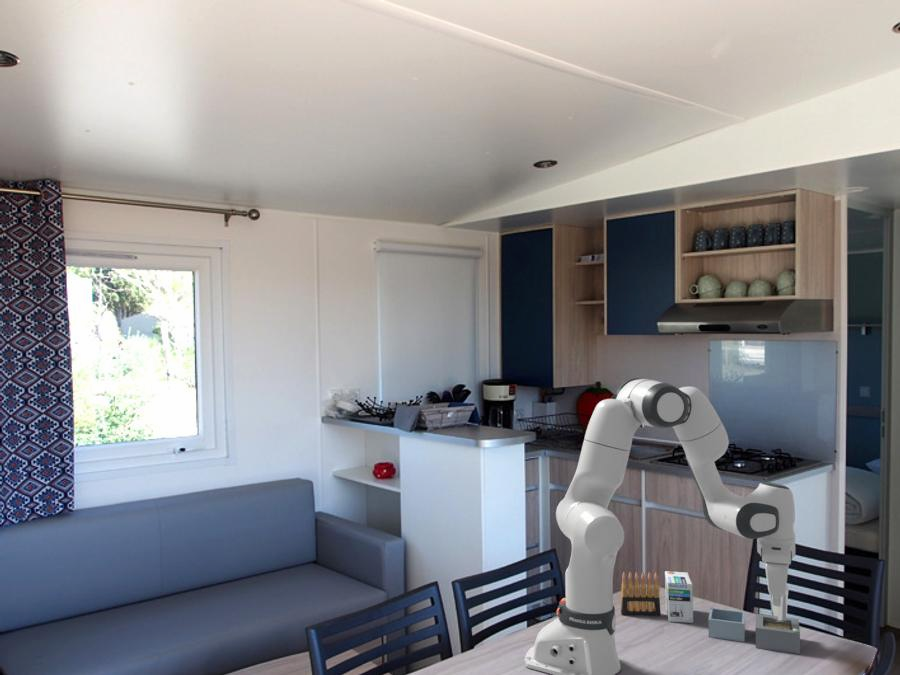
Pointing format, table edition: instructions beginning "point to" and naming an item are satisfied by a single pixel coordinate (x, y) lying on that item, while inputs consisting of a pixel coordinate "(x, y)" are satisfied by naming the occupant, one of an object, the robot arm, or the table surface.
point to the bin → (727, 624)
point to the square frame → (777, 635)
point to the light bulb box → (679, 597)
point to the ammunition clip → (640, 596)
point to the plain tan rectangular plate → (776, 625)
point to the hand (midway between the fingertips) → (776, 601)
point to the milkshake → (780, 608)
